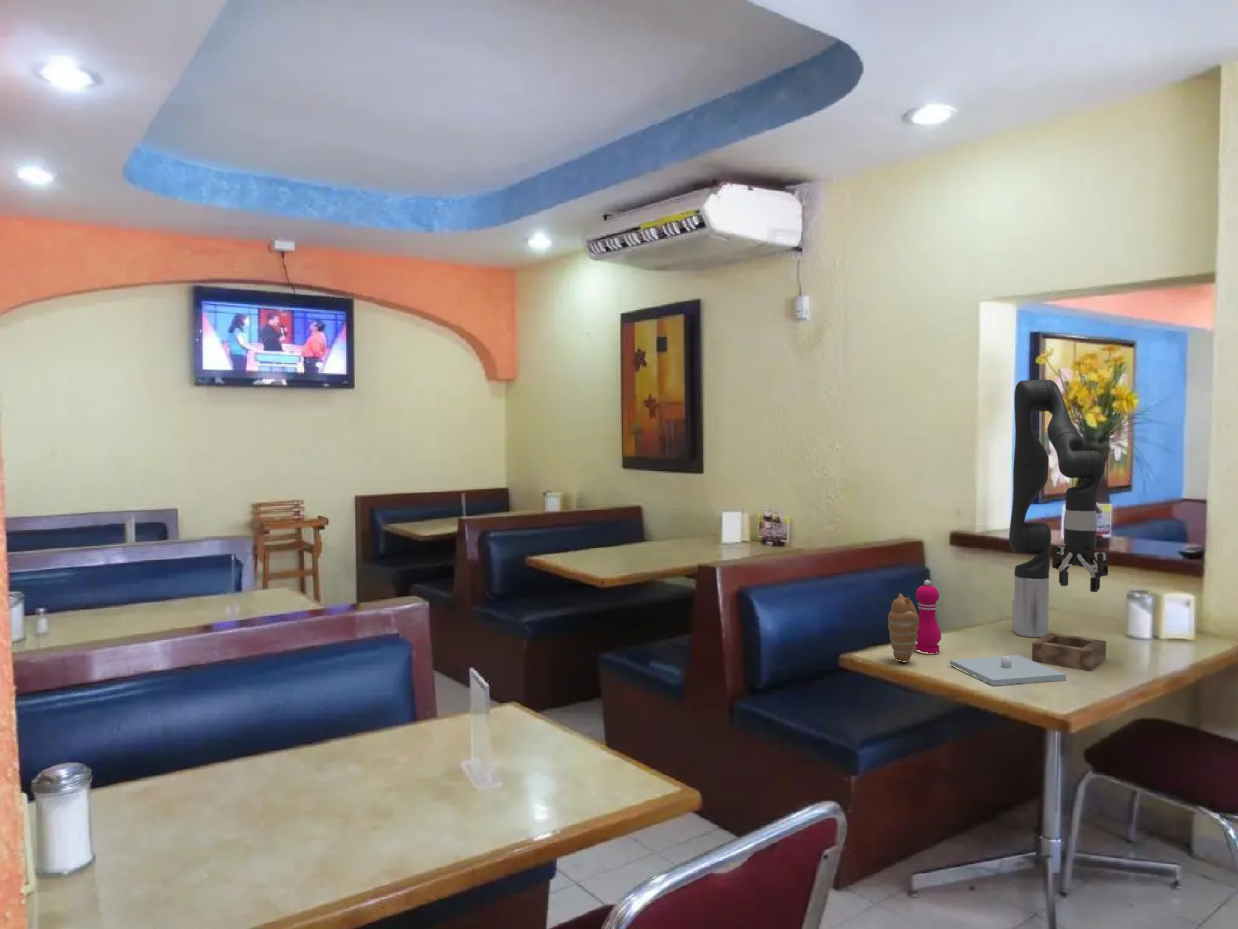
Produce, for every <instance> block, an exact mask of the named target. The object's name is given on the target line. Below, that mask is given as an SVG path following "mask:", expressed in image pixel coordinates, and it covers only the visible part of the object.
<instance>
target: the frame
mask: <svg viewBox="0 0 1238 929" xmlns="http://www.w3.org/2000/svg"><path fill="white" fill-rule="evenodd" d="M1031 646H1032V648H1031V650H1032V651H1031V652H1032V653H1031V660H1032V661H1034V662H1037V663H1039V664H1046V665H1052V666H1059V667H1065V668H1068V669H1075V670H1076V669H1077V670H1081V669H1084V670H1083V671H1087V670H1089V671H1088V672H1091V671H1093V669H1096V667H1098V666H1100V663H1101V662H1102V663H1103V662H1104V660H1105V659H1106V660H1107V640H1103V639H1095V638H1088V637H1081V636H1075V635H1069V634H1068V635H1067V634H1063V633H1062V634H1061V633H1054V632H1048V634H1046V635H1044V636H1043V637H1038V639H1036V640H1034V641H1032V643H1031ZM1106 660H1105V661H1106ZM1102 663H1101V664H1102ZM1097 665H1098V666H1097Z"/></svg>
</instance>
